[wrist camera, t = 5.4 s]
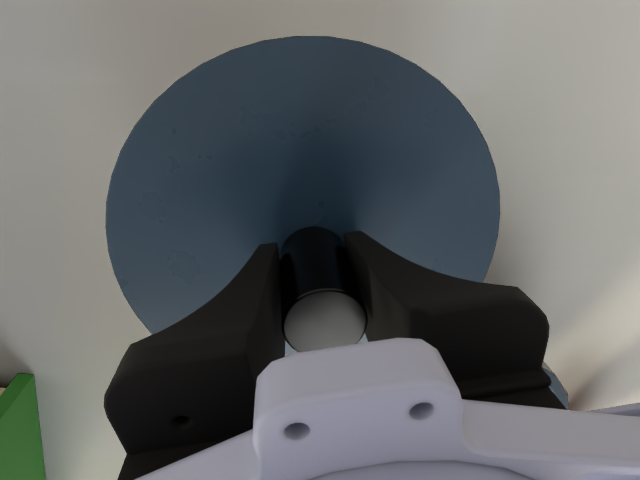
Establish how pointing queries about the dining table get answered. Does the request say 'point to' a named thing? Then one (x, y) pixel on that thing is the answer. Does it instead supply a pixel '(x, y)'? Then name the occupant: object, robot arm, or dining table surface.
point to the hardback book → (20, 431)
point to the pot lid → (298, 183)
